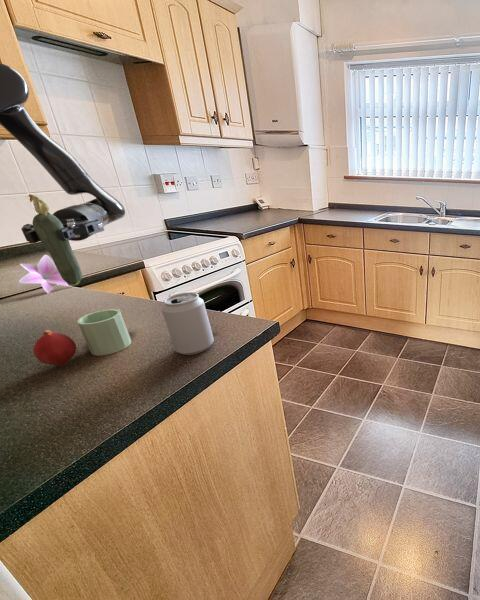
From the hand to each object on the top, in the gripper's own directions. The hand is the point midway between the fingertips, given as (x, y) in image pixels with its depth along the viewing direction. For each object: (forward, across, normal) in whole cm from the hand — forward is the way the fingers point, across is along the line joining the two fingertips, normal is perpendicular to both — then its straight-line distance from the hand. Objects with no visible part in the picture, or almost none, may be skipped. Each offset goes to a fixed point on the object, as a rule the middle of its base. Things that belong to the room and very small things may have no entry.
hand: (46, 236), depth 68 cm
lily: (-43, -22, +24) cm, 54 cm away
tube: (+7, +6, +23) cm, 25 cm away
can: (+16, +23, +24) cm, 36 cm away
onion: (+12, -1, +24) cm, 26 cm away
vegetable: (-3, 0, +12) cm, 12 cm away
